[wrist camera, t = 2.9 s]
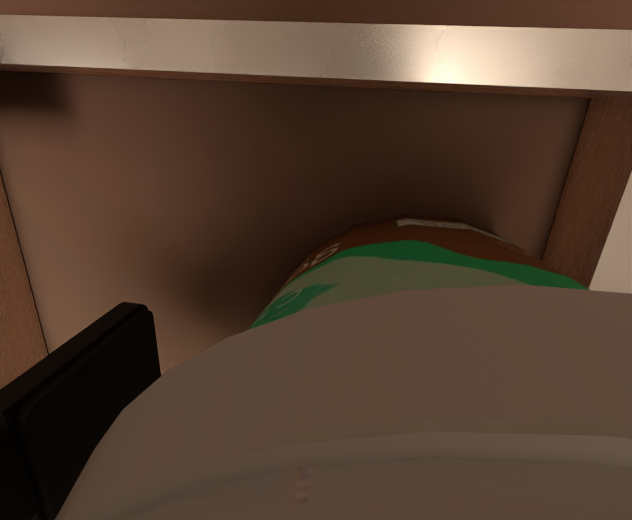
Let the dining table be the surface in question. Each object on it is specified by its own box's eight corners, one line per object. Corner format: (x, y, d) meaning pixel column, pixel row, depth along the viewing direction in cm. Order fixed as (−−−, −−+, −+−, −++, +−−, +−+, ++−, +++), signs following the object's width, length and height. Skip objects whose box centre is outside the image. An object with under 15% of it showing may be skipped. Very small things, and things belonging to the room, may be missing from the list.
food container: (326, 91, 10) (-156, -116, 1) (526, 186, 10) (1750, 787, 1) (204, 395, 15) (-72, 831, 6) (339, 459, 15) (275, 989, 6)
